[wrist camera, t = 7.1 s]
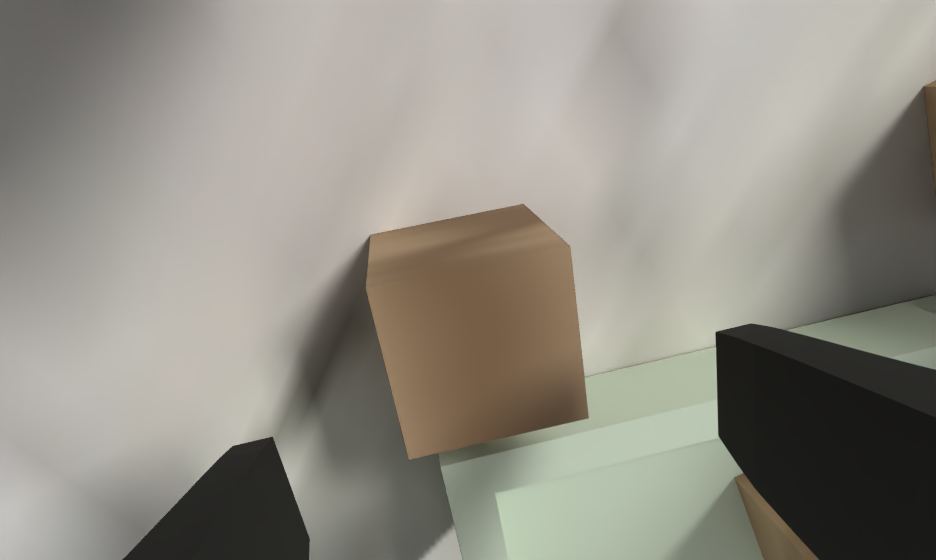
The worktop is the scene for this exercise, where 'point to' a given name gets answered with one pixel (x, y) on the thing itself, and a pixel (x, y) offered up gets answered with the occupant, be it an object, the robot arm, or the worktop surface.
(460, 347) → the block
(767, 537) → the block
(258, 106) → the worktop surface
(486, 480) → the tray
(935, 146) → the block
